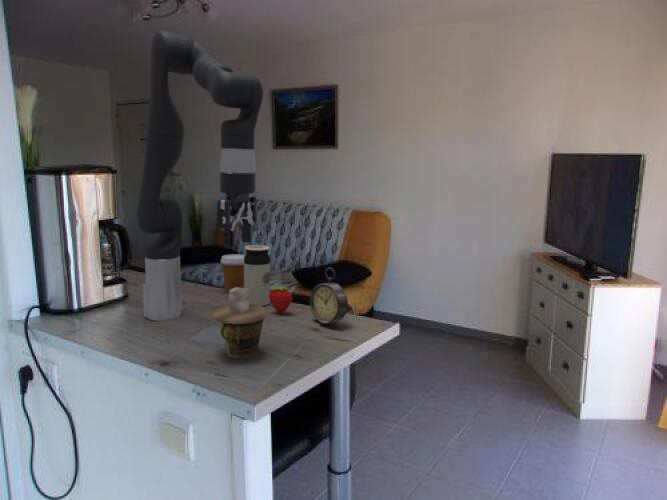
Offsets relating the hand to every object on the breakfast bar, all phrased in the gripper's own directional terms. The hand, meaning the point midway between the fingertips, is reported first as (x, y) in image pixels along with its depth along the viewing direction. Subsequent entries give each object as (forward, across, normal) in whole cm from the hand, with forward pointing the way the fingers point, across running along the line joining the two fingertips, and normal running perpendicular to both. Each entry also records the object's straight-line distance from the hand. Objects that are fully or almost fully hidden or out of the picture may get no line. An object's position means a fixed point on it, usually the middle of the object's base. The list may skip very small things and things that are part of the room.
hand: (238, 245), depth 111 cm
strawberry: (+26, -33, -3) cm, 42 cm away
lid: (+16, 0, 0) cm, 16 cm away
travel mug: (+26, -41, -14) cm, 50 cm away
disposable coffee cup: (+26, -52, -27) cm, 64 cm away
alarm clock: (+26, -29, +13) cm, 41 cm away
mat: (+26, -10, -10) cm, 30 cm away
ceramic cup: (+26, 0, 0) cm, 26 cm away
